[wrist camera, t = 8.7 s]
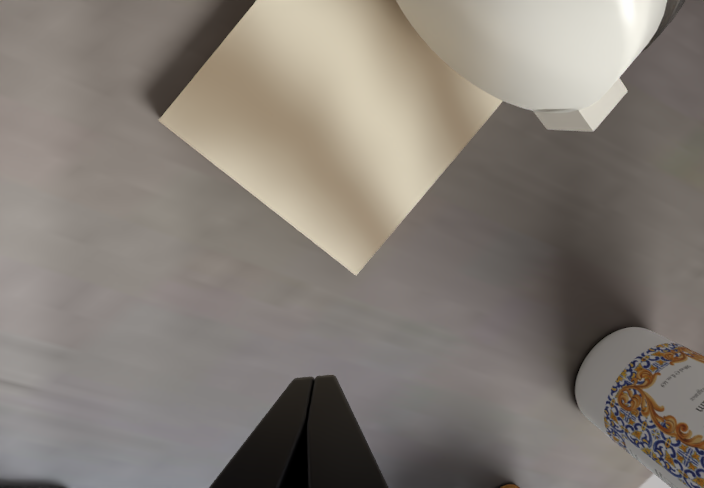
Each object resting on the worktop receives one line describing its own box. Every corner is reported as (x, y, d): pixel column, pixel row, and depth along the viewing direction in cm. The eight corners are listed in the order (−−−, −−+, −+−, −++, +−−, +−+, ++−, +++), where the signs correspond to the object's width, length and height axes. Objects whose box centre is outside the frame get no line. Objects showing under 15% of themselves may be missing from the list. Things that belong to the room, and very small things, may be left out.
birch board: (349, 268, 20) (364, 285, 18) (161, 120, 16) (153, 120, 14) (586, -14, 20) (628, -28, 18) (454, -238, 16) (489, -289, 14)
